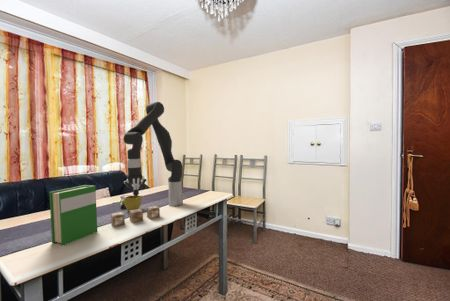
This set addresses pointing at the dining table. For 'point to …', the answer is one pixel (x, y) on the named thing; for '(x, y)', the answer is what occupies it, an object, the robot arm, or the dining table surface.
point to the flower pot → (132, 202)
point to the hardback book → (73, 213)
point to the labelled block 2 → (153, 212)
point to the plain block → (136, 215)
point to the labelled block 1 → (117, 219)
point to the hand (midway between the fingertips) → (135, 195)
